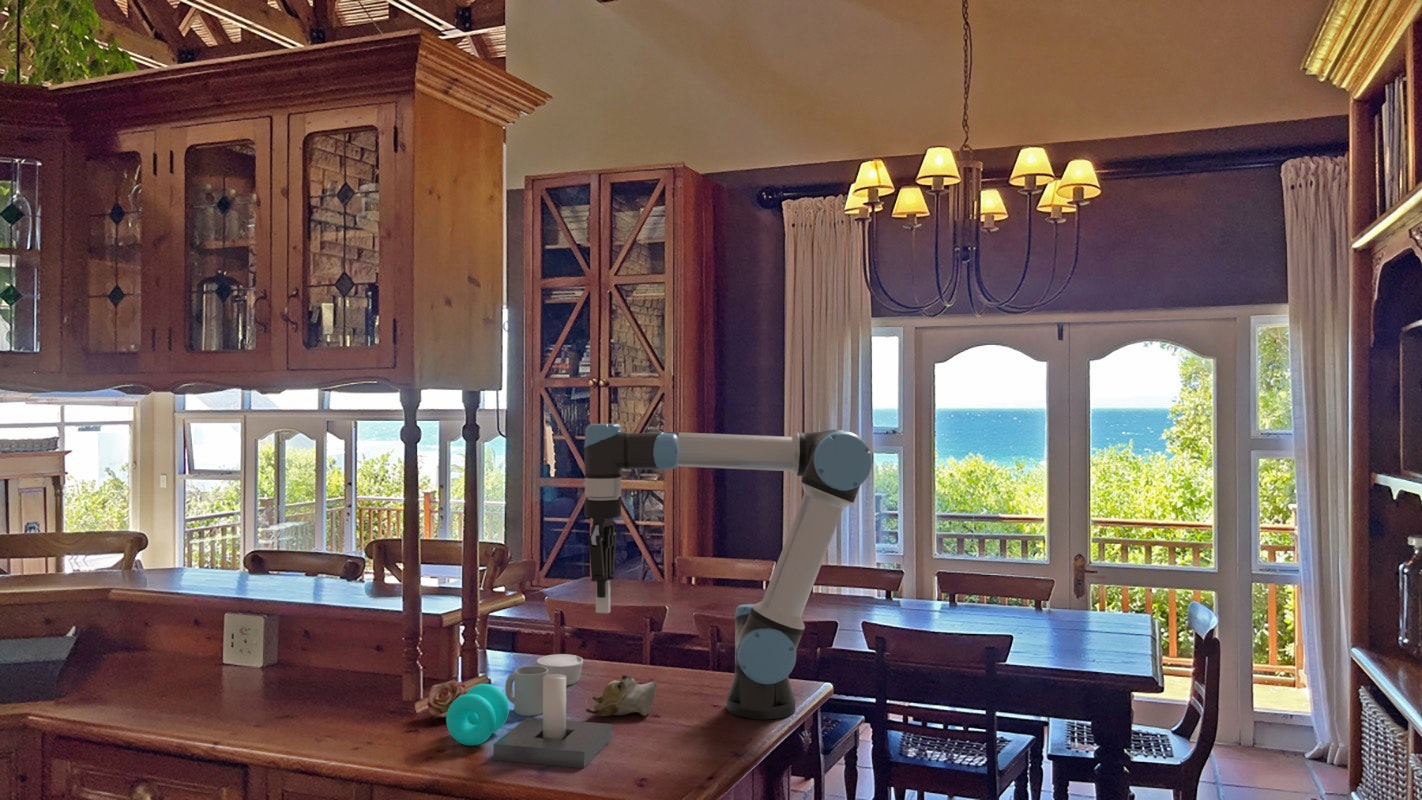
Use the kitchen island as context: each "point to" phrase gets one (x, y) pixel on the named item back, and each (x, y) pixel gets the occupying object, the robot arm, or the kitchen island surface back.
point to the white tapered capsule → (554, 706)
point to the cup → (526, 690)
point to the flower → (444, 697)
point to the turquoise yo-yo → (477, 714)
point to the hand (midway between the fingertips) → (603, 612)
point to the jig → (553, 744)
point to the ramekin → (563, 666)
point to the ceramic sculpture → (625, 698)
